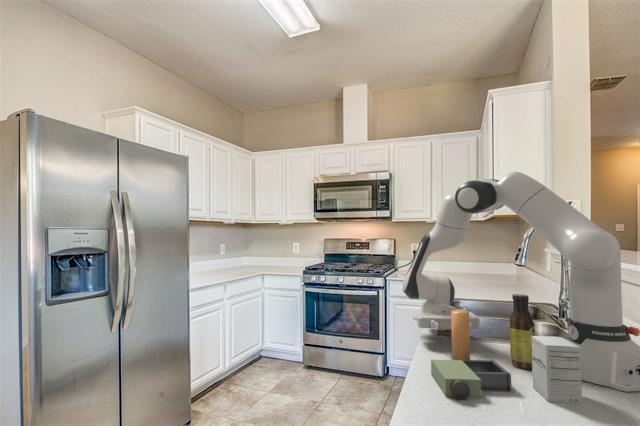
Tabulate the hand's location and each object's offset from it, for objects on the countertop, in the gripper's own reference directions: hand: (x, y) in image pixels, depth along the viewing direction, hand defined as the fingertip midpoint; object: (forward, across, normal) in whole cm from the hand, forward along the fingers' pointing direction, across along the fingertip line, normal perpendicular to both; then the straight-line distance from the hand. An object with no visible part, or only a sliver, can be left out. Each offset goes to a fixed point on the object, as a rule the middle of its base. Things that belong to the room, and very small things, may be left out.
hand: (454, 327), depth 109 cm
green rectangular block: (+24, -8, +8) cm, 26 cm away
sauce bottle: (+9, +16, +8) cm, 20 cm away
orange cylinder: (+6, 0, +8) cm, 10 cm away
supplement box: (+27, +14, +8) cm, 32 cm away
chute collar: (+22, 0, +8) cm, 23 cm away
